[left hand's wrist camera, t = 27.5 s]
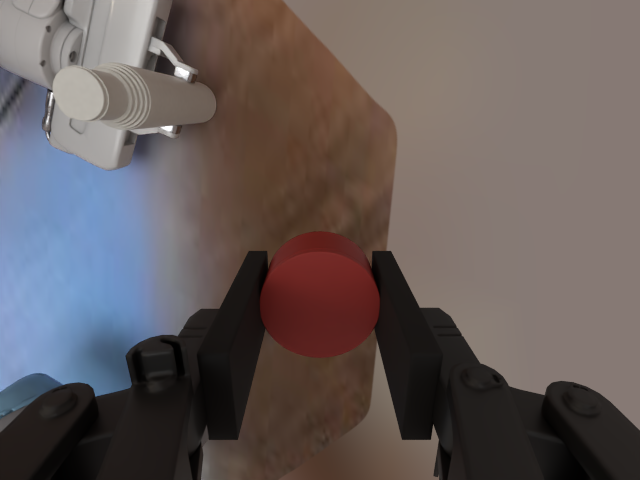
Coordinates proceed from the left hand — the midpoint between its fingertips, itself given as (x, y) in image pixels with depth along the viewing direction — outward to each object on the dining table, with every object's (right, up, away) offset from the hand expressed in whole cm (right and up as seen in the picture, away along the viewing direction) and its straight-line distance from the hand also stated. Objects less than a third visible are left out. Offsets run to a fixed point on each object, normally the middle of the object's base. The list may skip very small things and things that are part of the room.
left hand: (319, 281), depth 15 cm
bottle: (-15, +19, +29) cm, 38 cm away
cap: (0, -1, -2) cm, 2 cm away
